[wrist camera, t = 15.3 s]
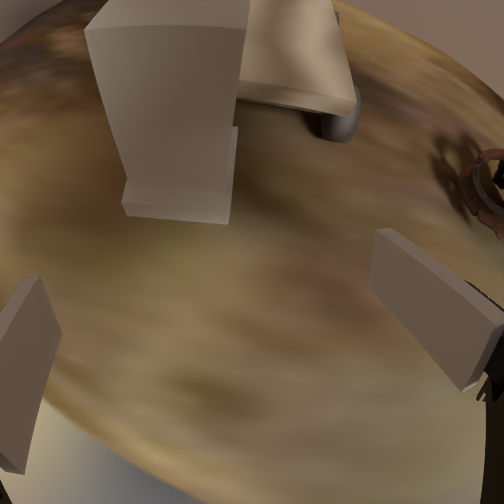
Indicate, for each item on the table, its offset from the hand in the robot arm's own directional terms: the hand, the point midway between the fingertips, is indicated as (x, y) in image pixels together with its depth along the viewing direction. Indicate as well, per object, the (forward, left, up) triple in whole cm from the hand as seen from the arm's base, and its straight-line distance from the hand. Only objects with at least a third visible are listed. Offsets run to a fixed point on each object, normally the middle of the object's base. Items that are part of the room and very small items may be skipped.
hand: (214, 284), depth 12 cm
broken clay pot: (-26, -13, -9) cm, 30 cm away
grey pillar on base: (+3, -10, -8) cm, 13 cm away
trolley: (-3, -23, -8) cm, 25 cm away
